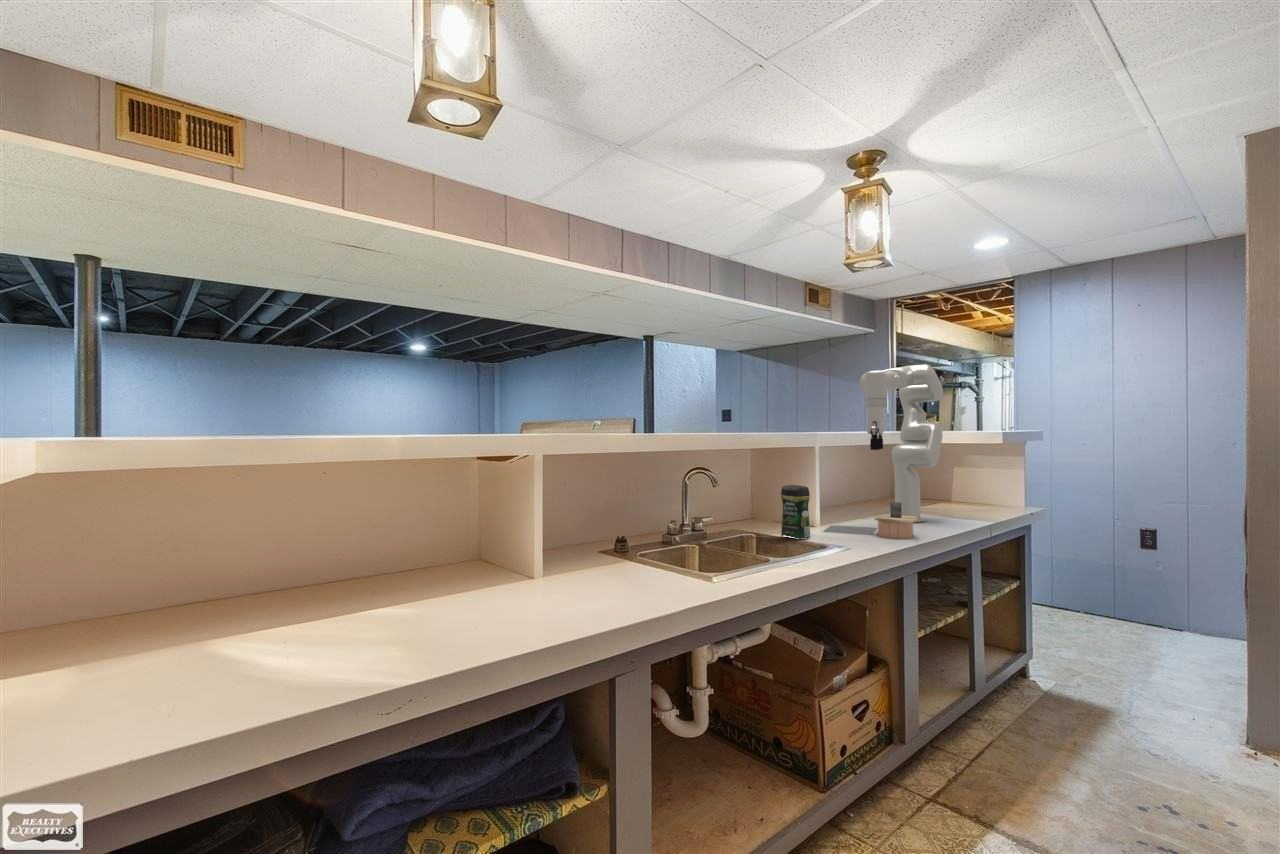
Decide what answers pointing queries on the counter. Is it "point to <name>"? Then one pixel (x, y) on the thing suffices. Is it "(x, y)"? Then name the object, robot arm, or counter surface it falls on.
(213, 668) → the counter surface
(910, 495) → the robot arm
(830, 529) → the rubber mat
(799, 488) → the coffee jar
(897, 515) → the oak lid
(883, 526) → the terracotta bowl
